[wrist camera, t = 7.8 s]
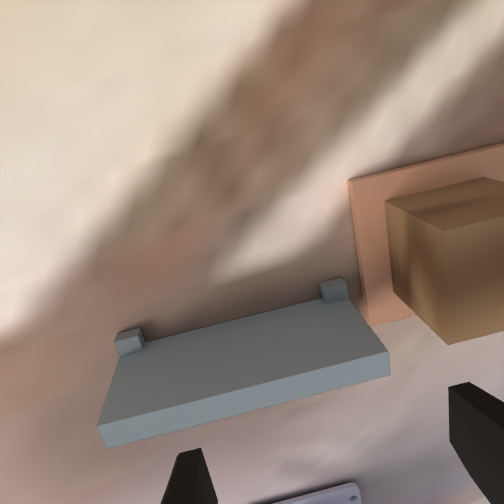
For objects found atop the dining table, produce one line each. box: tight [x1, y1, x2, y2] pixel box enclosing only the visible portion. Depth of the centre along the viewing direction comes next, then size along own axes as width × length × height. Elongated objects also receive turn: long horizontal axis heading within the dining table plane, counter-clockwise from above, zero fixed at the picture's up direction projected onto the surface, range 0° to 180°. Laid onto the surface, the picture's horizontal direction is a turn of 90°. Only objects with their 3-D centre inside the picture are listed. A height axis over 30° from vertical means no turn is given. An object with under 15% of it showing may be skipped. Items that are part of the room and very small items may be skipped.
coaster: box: [348, 143, 504, 327], centre depth 20 cm, size 8×8×1 cm
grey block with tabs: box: [97, 278, 391, 449], centre depth 19 cm, size 3×12×6 cm, turn 102°
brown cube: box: [384, 177, 504, 345], centre depth 18 cm, size 5×5×5 cm
